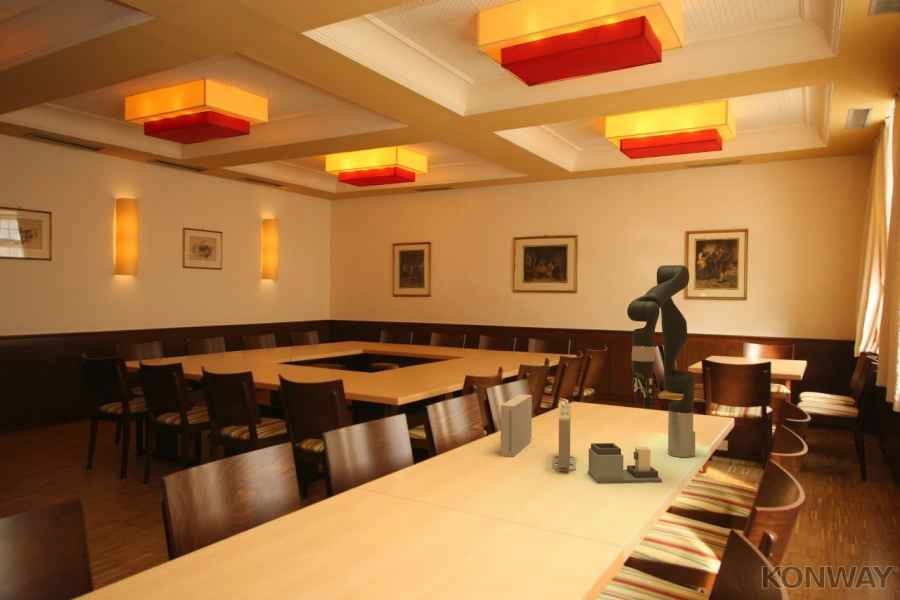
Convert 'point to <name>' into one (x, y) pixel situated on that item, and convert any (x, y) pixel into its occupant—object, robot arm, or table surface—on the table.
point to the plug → (642, 458)
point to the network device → (564, 441)
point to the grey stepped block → (615, 466)
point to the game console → (516, 424)
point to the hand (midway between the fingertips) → (642, 405)
